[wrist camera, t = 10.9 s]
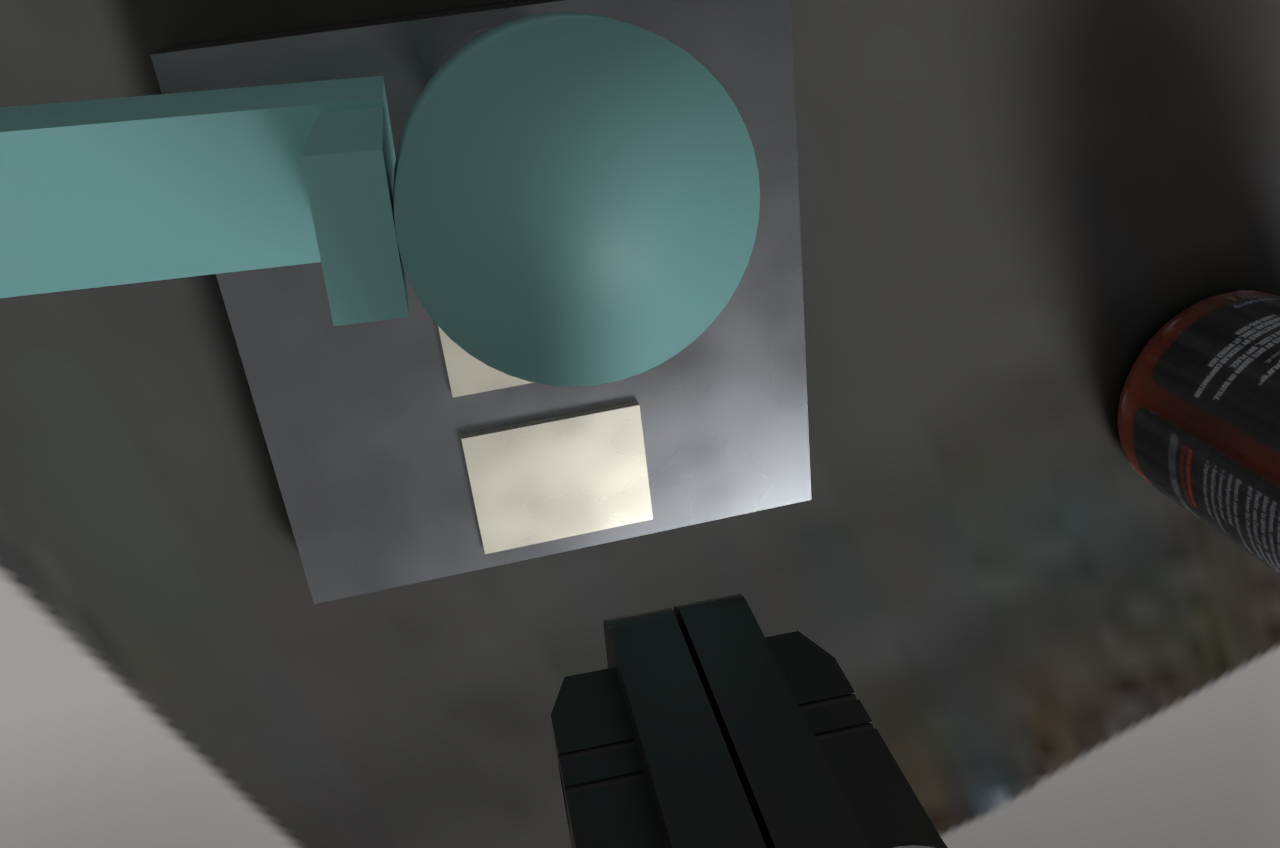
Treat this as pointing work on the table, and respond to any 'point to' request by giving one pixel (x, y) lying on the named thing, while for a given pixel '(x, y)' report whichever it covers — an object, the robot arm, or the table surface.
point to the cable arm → (420, 195)
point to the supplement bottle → (1213, 416)
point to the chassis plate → (489, 399)
